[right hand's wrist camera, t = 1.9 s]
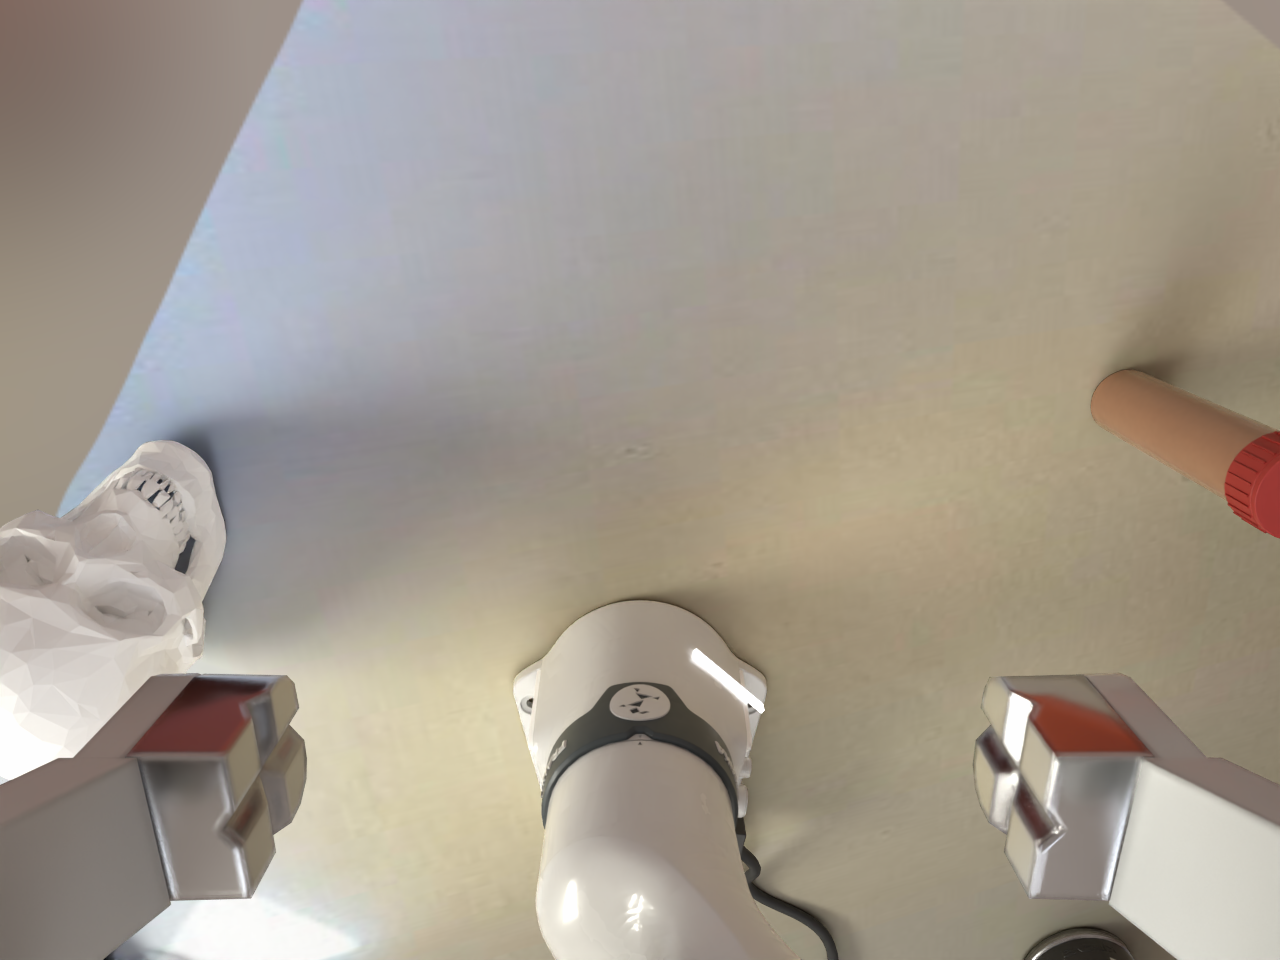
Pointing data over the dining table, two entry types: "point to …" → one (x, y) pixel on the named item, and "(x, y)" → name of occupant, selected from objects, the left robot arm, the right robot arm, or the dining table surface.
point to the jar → (1174, 426)
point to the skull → (102, 601)
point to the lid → (1257, 484)
